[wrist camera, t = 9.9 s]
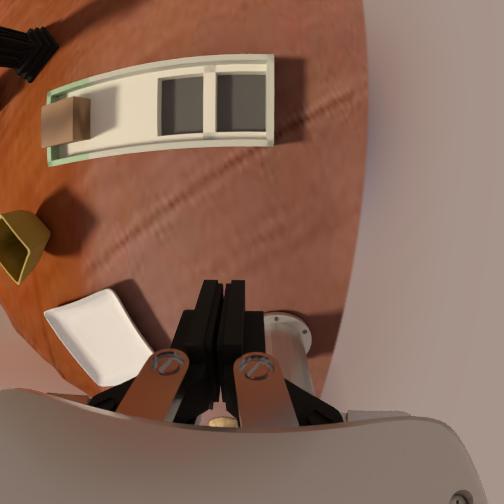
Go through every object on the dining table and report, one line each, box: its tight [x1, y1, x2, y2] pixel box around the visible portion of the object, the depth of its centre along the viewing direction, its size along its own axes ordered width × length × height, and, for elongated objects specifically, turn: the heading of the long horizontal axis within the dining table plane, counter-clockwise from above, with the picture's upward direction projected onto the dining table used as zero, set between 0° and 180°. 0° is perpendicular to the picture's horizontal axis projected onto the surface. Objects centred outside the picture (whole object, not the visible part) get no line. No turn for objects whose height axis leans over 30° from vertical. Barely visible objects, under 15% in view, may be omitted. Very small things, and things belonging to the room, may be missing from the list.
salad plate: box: [44, 288, 155, 386], centre depth 46 cm, size 21×21×3 cm
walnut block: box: [41, 96, 91, 148], centre depth 28 cm, size 6×6×4 cm
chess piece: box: [0, 26, 59, 83], centre depth 16 cm, size 8×8×20 cm
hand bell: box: [209, 417, 238, 428], centre depth 50 cm, size 8×8×16 cm
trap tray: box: [47, 54, 274, 167], centre depth 30 cm, size 12×32×4 cm, turn 90°
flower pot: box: [0, 210, 51, 285], centre depth 34 cm, size 9×9×9 cm
